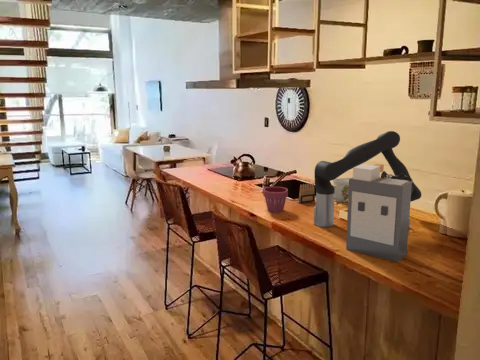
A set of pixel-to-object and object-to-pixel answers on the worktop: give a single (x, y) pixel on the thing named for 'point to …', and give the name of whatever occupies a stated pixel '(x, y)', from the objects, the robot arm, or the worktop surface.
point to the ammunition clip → (307, 194)
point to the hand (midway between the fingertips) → (392, 173)
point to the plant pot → (275, 198)
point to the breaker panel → (379, 217)
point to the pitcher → (341, 189)
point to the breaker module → (367, 172)
